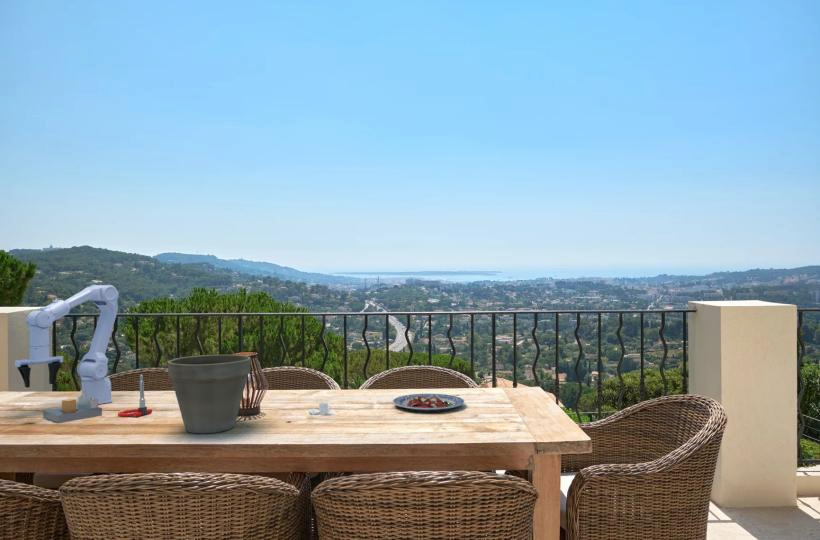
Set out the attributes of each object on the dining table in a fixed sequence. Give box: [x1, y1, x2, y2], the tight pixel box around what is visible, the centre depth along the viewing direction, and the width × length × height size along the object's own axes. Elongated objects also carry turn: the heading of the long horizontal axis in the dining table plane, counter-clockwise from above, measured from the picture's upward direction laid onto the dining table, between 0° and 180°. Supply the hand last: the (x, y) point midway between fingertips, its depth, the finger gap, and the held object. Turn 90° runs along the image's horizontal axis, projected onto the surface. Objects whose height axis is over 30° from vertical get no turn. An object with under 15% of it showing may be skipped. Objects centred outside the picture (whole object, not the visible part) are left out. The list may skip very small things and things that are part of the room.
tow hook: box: [117, 374, 153, 418], centre depth 214 cm, size 9×14×10 cm
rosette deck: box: [42, 394, 103, 424], centre depth 211 cm, size 14×12×6 cm
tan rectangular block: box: [61, 398, 77, 413], centre depth 210 cm, size 3×3×6 cm
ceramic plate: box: [392, 393, 465, 412], centre depth 225 cm, size 26×26×3 cm
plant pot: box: [167, 354, 252, 434], centre depth 195 cm, size 25×25×22 cm
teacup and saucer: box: [308, 402, 336, 418], centre depth 213 cm, size 9×8×4 cm
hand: (39, 385), depth 215 cm, fingers open, 7 cm apart
